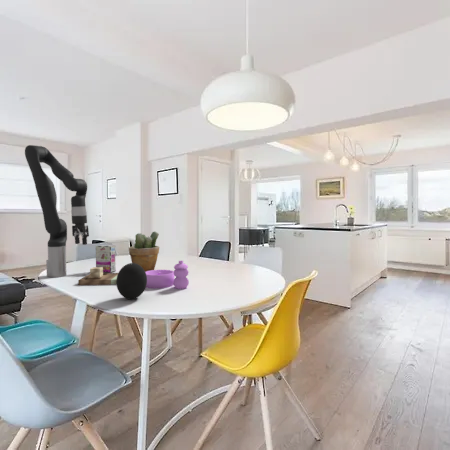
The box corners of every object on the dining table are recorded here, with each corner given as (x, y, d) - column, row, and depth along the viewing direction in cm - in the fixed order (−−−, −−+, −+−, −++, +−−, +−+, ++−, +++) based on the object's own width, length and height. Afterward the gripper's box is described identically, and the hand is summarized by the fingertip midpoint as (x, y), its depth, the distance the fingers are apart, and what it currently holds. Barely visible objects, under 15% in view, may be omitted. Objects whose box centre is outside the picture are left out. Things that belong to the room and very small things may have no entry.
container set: (137, 286, 150) (136, 260, 150) (157, 280, 164) (157, 256, 163) (177, 292, 139) (177, 263, 138) (196, 285, 152) (196, 259, 152)
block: (90, 277, 159) (90, 268, 159) (93, 275, 164) (93, 267, 164) (100, 277, 159) (99, 268, 159) (103, 275, 164) (102, 267, 164)
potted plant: (141, 276, 174) (140, 233, 174) (122, 272, 186) (121, 231, 185) (165, 271, 189) (165, 231, 188) (146, 268, 200) (146, 230, 199)
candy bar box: (116, 271, 189) (115, 245, 189) (110, 272, 184) (110, 246, 184) (101, 270, 192) (100, 244, 192) (95, 271, 188) (95, 245, 187)
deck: (78, 285, 152) (78, 275, 152) (91, 277, 170) (91, 268, 170) (127, 284, 154) (126, 274, 154) (134, 276, 172) (134, 268, 172)
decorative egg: (110, 299, 126) (109, 263, 126) (134, 293, 137) (133, 260, 136) (129, 304, 119) (129, 266, 119) (153, 297, 130) (152, 262, 129)
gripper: (66, 215, 168) (68, 244, 169) (78, 215, 159) (80, 245, 160) (79, 214, 174) (81, 242, 175) (92, 214, 165) (94, 244, 166)
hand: (81, 244), depth 168 cm, fingers open, 8 cm apart
